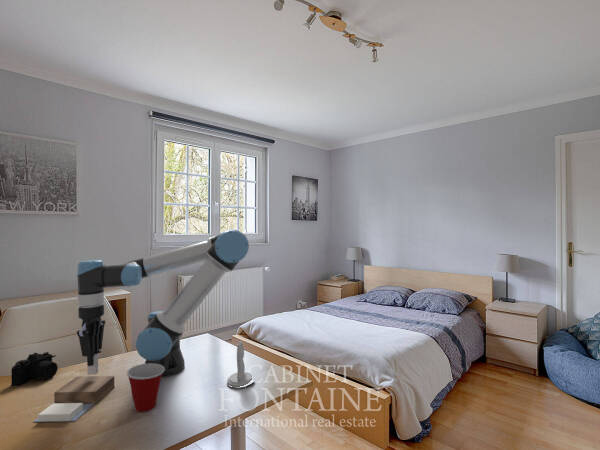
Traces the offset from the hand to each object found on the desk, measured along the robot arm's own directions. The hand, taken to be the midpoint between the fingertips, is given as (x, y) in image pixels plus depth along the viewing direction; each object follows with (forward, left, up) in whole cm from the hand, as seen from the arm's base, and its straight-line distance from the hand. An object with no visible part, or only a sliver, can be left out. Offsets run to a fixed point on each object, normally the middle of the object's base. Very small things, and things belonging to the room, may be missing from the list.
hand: (92, 373), depth 114 cm
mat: (0, +13, -6) cm, 15 cm away
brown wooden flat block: (0, +3, -6) cm, 7 cm away
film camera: (+26, -11, -6) cm, 29 cm away
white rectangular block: (0, +15, -4) cm, 16 cm away
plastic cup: (-23, +11, -6) cm, 26 cm away
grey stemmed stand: (-50, -5, -6) cm, 51 cm away
